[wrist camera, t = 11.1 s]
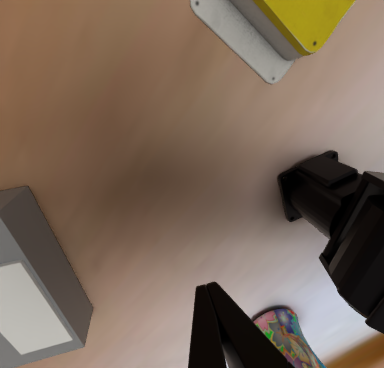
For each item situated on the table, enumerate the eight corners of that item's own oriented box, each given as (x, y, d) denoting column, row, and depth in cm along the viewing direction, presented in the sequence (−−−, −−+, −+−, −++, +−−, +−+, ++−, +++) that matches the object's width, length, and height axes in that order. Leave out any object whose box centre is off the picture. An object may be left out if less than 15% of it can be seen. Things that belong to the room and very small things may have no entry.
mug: (292, 330, 36) (345, 416, 27) (242, 346, 35) (279, 443, 25) (300, 283, 31) (370, 371, 21) (241, 301, 29) (287, 402, 20)
